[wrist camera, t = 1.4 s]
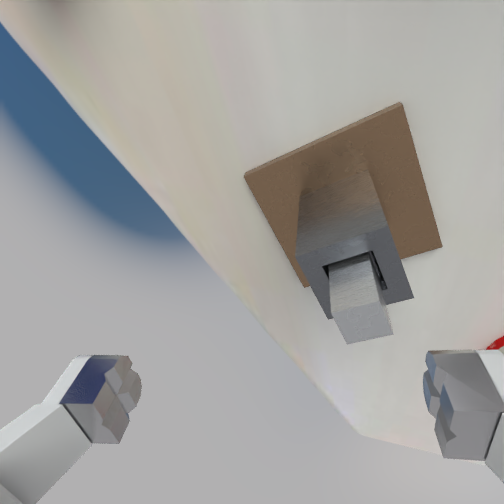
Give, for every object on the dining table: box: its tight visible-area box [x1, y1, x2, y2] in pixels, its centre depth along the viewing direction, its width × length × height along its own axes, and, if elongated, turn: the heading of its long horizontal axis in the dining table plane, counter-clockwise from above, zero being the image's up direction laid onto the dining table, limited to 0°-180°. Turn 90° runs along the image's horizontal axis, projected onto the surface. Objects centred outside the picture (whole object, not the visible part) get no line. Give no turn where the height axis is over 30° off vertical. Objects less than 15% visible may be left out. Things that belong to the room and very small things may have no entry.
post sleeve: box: [244, 102, 442, 319], centre depth 41 cm, size 20×20×16 cm
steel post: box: [328, 250, 393, 344], centre depth 37 cm, size 4×4×20 cm
